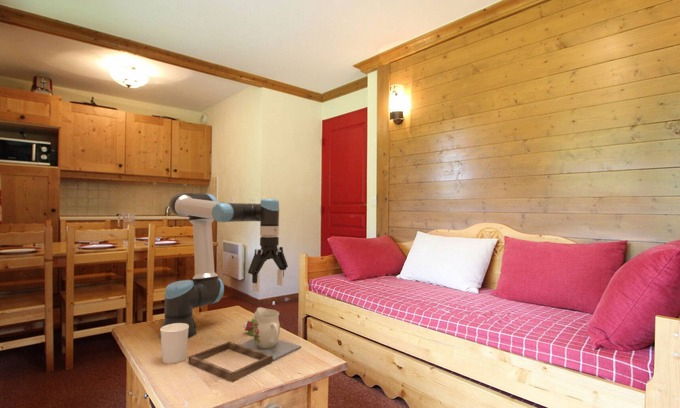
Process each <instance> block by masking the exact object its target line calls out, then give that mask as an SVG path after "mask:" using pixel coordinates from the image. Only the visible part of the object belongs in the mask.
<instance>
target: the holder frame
mask: <svg viewBox="0 0 680 408" xmlns="http://www.w3.org/2000/svg"><path fill="white" fill-rule="evenodd" d="M229 350H230V351H232V352H235V353H238V354H241V355H244V356H247V357H250V358H253V359H257V360H256V361H254V362H251V363H249V364H247V365H245V366H243V367H241V368H238V369H236V370H234V371H232V370H229V369H227V368H224V367H221V366H220V365H217V364H215V363H212V362H209V361H207V360H205V359H208V358H210V357H213V356H215V355H218V354H220V353H223V352H225V351H229ZM272 363H273V361H272V355H269V354H266V353H263V352H260V351H257V350H254V349H251V348H248V347H245V346H241V345H239V344H238V343H235V342H232V341H227V342H223V343H222V344H218V345H216V346H213V347H211V348H208V349H205V350H203V351H200V352H198V353H195V354H192V355H189V356H188V363H187V364H189V365H191V366H194V367H196V368H199V369H201V370H203V371H206V372H208V373H210V374H213V375H215V376H218V377H220V378H223V379H224V380H227V381H229V382H232V383H233V382H235V381H237V380H239V379H241V378H244V377H246V376H248V375H250V374H252V373H254V372H256V371H257V370H260V369H262V368H264V367H266V366H268V365H270V364H272Z"/></svg>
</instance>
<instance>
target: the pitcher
mask: <svg viewBox="0 0 680 408" xmlns="http://www.w3.org/2000/svg"><path fill="white" fill-rule="evenodd" d="M279 316H280V311H278V310H276V309H270V308H265V307H257V308H256V310H255V312H254V313H253V317H254V318H253V319H255V321H254V324H253V339H254V340H255V342H256V344H257V345H258V347H259V348H263V349H267V348H272V347H274V345H275V344H276V342H277V340H279V337H280V334H281V324H280V323H281V322H280V320H279Z"/></svg>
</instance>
